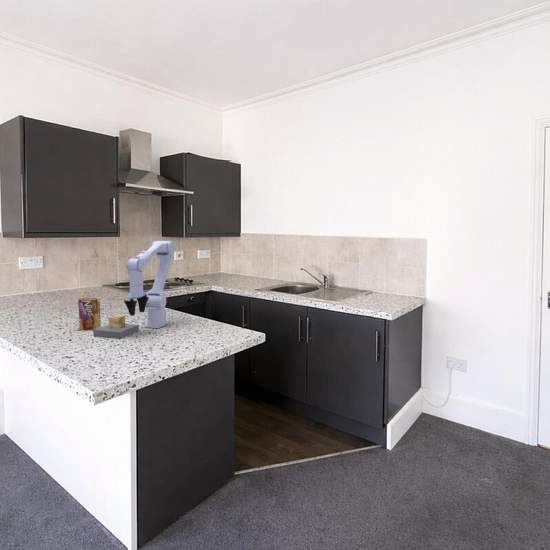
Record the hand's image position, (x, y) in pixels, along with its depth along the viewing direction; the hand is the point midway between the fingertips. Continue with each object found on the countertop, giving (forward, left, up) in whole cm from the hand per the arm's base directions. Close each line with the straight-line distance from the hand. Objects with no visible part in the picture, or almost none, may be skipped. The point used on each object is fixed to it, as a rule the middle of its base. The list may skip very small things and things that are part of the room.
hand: (137, 313), depth 181 cm
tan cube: (+3, -9, -6) cm, 11 cm away
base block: (+3, -9, -9) cm, 13 cm away
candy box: (-1, -27, -10) cm, 29 cm away
